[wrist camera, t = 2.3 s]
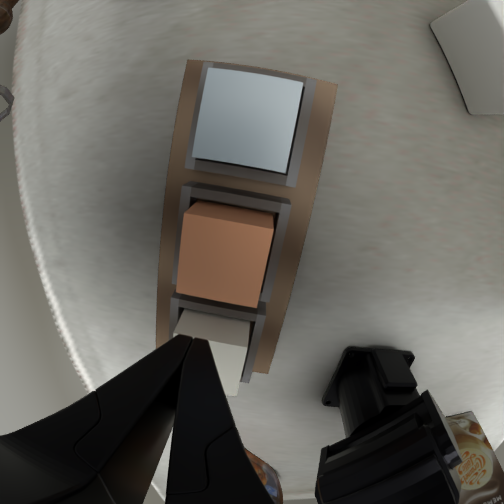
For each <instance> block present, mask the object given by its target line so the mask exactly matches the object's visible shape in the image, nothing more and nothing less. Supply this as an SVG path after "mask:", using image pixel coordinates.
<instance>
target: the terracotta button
mask: <svg viewBox="0 0 504 504" xmlns="http://www.w3.org/2000/svg"><path fill="white" fill-rule="evenodd" d="M273 231H274V227H273V214H271V213H266V212H261V211H255V210H250V209H245V208H239V207H234V206H228V205H223V204H217V203H211V202H205V201H199V200H198V201H197V202H196V203H195V204H194V205H192V206H191V207H190V208H189V209H188V210H187V211H186V212H185V213H184V217H183V225H182V234H181V244H180V253H179V264H178V275H177V287H176V292H177V293H181V294H186V295H191V296H196V297H201V298H206V299H211V300H216V301H221V302H226V303H232V304H237V305H242V306H248V307H253V308H257V304H258V300H259V295H260V291H261V286H262V282H263V277H264V272H265V268H266V263H267V259H268V254H269V249H270V245H271V240H272V235H273Z"/></svg>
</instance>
